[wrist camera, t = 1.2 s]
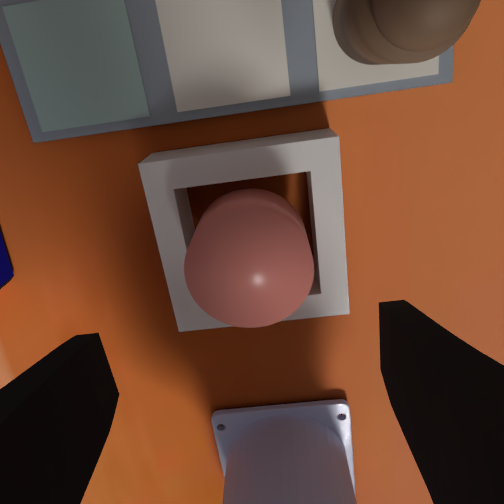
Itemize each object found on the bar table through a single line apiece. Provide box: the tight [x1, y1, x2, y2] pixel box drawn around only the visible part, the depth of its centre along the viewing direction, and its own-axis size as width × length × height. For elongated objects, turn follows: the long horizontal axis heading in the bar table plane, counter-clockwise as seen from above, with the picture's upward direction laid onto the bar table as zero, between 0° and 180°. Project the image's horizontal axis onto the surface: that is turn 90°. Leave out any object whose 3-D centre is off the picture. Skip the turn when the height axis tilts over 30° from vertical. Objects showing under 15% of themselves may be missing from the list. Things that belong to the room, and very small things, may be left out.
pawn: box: [333, 0, 481, 65], centre depth 13 cm, size 3×3×7 cm
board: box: [0, 0, 454, 143], centre depth 17 cm, size 6×18×1 cm, turn 98°
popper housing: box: [138, 128, 350, 332], centre depth 20 cm, size 8×8×2 cm
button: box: [184, 188, 314, 328], centre depth 17 cm, size 5×5×3 cm
